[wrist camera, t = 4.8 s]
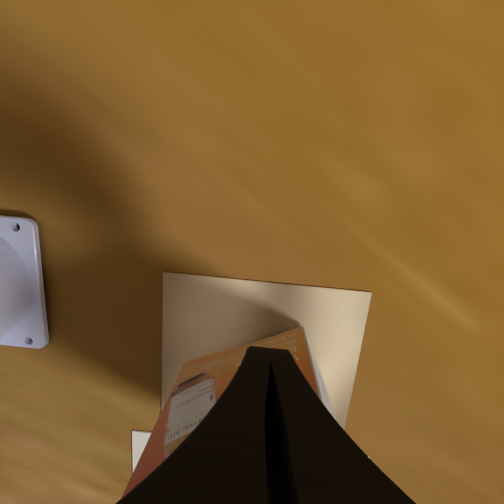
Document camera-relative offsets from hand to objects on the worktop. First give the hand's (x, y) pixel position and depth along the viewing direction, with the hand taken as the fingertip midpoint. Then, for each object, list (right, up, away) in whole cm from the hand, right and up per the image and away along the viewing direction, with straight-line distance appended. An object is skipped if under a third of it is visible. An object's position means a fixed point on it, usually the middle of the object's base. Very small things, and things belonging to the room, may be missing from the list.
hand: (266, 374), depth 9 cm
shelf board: (0, -3, +8) cm, 9 cm away
